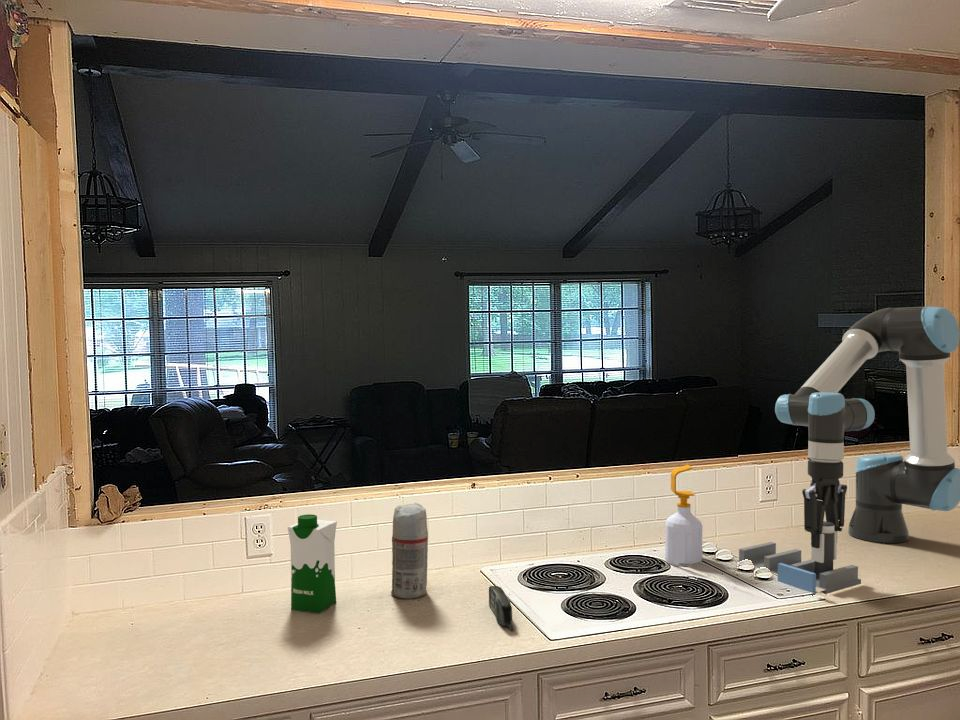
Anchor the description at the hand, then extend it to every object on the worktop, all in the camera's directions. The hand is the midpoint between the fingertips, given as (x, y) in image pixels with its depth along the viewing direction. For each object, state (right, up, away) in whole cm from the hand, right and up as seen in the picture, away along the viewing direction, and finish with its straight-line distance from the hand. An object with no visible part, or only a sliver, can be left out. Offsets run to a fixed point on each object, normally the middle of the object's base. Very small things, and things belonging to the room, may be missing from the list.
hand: (823, 559), depth 177 cm
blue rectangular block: (-8, -6, -5) cm, 11 cm away
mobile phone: (-75, -7, -20) cm, 78 cm away
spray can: (-96, -7, -5) cm, 96 cm away
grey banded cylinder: (0, -4, 0) cm, 4 cm away
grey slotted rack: (-4, -5, +7) cm, 9 cm away
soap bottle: (-28, -5, +17) cm, 33 cm away
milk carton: (-116, -7, -12) cm, 117 cm away
